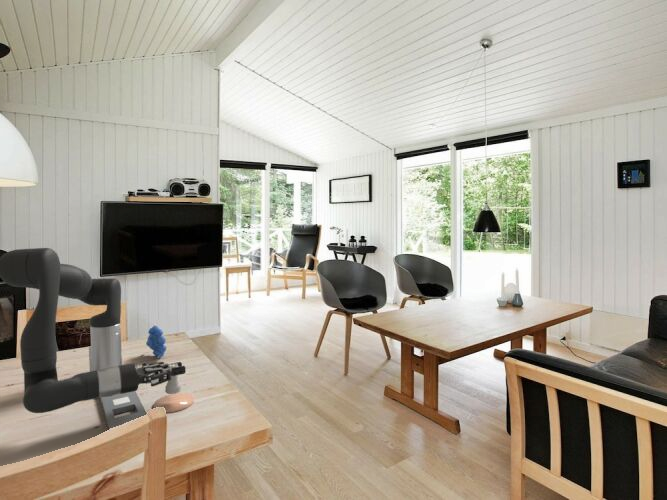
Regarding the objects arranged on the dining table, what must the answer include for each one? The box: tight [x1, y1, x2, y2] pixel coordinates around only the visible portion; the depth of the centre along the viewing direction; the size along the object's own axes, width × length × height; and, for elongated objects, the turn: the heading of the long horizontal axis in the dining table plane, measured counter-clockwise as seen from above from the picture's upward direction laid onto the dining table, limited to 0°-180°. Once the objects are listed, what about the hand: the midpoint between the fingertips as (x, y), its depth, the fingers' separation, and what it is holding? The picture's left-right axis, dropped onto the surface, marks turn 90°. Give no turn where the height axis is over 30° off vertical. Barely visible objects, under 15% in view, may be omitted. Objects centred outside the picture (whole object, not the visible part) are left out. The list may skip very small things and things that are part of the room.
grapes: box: [145, 325, 167, 358], centre depth 155 cm, size 12×7×12 cm, turn 50°
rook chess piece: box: [164, 362, 182, 395], centre depth 115 cm, size 4×4×8 cm
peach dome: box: [153, 392, 195, 414], centre depth 116 cm, size 11×11×1 cm
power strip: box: [99, 390, 148, 429], centre depth 114 cm, size 30×9×2 cm, turn 36°
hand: (182, 367), depth 117 cm, fingers closed on rook chess piece, 3 cm apart
